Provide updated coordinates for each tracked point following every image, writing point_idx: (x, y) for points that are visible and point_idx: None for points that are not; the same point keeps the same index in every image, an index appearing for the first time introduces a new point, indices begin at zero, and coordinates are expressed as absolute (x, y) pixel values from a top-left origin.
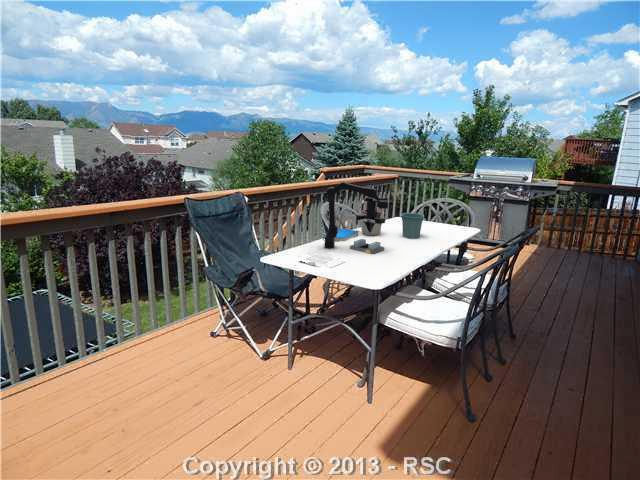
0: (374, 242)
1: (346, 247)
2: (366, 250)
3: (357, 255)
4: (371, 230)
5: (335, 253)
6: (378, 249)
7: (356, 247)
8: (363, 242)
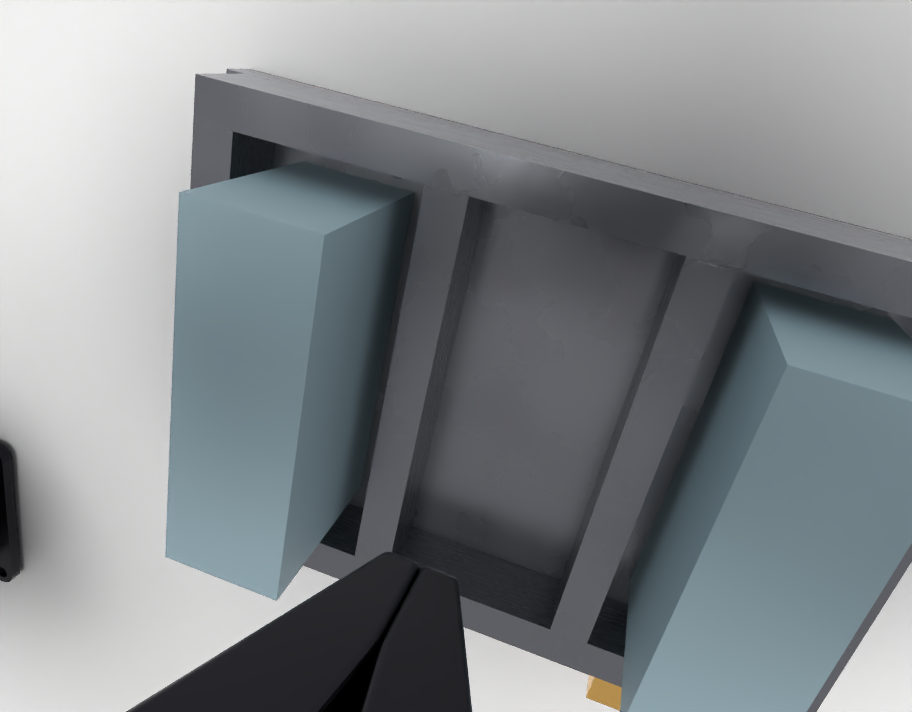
0: (738, 503)
1: (79, 296)
2: (612, 696)
3: (488, 700)
4: (461, 676)
5: (161, 676)
6: (897, 569)
7: (338, 576)
8: (340, 335)
